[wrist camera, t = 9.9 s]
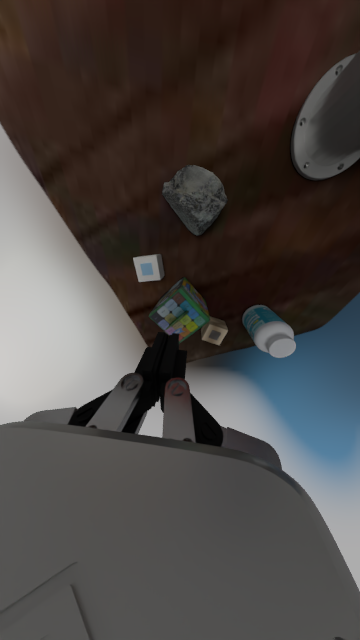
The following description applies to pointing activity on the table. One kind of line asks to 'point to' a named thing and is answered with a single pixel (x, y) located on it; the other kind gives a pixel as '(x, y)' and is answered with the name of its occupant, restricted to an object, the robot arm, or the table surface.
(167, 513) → the robot arm
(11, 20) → the table surface
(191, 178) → the stone
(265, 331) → the pill bottle
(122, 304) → the table surface
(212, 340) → the marked block beech
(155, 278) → the marked block white
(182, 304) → the chalk box
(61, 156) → the table surface
